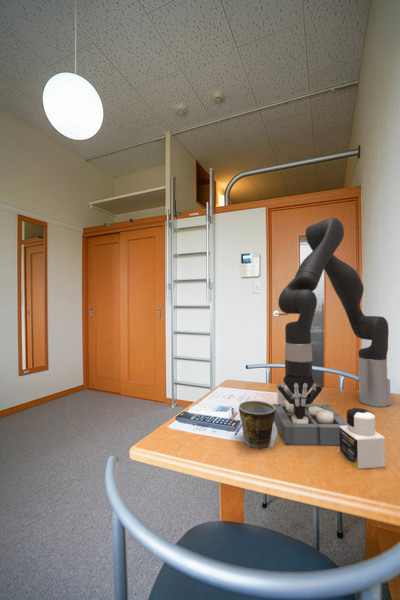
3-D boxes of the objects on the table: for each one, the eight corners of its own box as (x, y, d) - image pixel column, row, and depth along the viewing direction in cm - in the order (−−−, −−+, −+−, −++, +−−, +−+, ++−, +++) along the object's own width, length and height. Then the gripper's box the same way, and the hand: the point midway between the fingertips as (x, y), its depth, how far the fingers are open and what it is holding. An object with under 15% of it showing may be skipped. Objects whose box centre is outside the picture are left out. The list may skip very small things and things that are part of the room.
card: (312, 411, 98) (311, 386, 98) (313, 412, 97) (312, 387, 97) (277, 411, 99) (277, 385, 99) (278, 412, 98) (278, 386, 98)
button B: (329, 419, 82) (329, 409, 82) (336, 426, 77) (336, 416, 77) (313, 419, 82) (313, 409, 82) (319, 426, 77) (319, 415, 77)
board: (328, 419, 91) (328, 404, 91) (353, 446, 74) (352, 427, 74) (273, 419, 92) (272, 404, 92) (284, 444, 75) (284, 426, 76)
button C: (298, 410, 89) (298, 401, 89) (303, 416, 85) (303, 406, 85) (284, 410, 90) (284, 401, 90) (287, 416, 85) (287, 406, 85)
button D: (305, 424, 82) (305, 414, 82) (310, 432, 78) (310, 421, 78) (290, 424, 83) (289, 414, 83) (294, 431, 78) (293, 421, 78)
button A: (321, 415, 89) (321, 406, 89) (326, 421, 84) (326, 412, 84) (306, 415, 89) (306, 406, 89) (311, 421, 84) (311, 411, 84)
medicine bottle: (339, 453, 71) (338, 406, 71) (365, 451, 72) (364, 405, 72) (357, 469, 64) (356, 417, 64) (386, 467, 64) (385, 416, 65)
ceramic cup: (247, 431, 84) (246, 398, 84) (280, 439, 79) (279, 404, 79) (229, 451, 73) (228, 413, 73) (266, 462, 67) (265, 421, 68)
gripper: (317, 355, 84) (318, 413, 83) (272, 355, 85) (273, 412, 84) (326, 360, 76) (327, 424, 76) (277, 360, 77) (278, 423, 77)
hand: (299, 417), depth 80 cm, fingers closed
